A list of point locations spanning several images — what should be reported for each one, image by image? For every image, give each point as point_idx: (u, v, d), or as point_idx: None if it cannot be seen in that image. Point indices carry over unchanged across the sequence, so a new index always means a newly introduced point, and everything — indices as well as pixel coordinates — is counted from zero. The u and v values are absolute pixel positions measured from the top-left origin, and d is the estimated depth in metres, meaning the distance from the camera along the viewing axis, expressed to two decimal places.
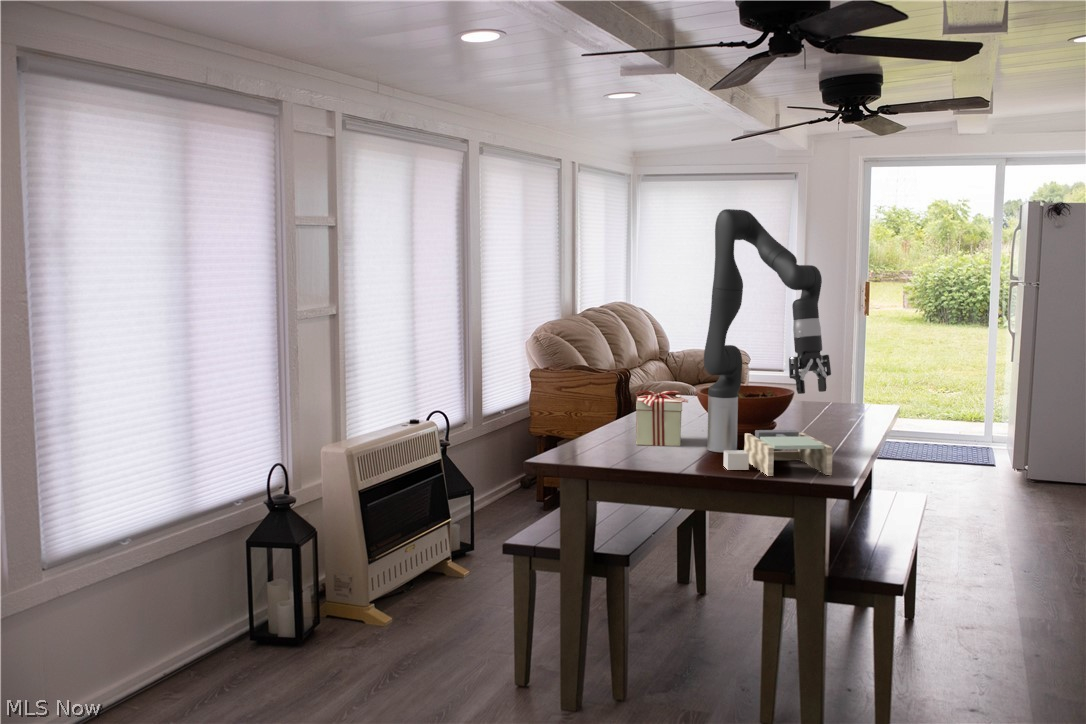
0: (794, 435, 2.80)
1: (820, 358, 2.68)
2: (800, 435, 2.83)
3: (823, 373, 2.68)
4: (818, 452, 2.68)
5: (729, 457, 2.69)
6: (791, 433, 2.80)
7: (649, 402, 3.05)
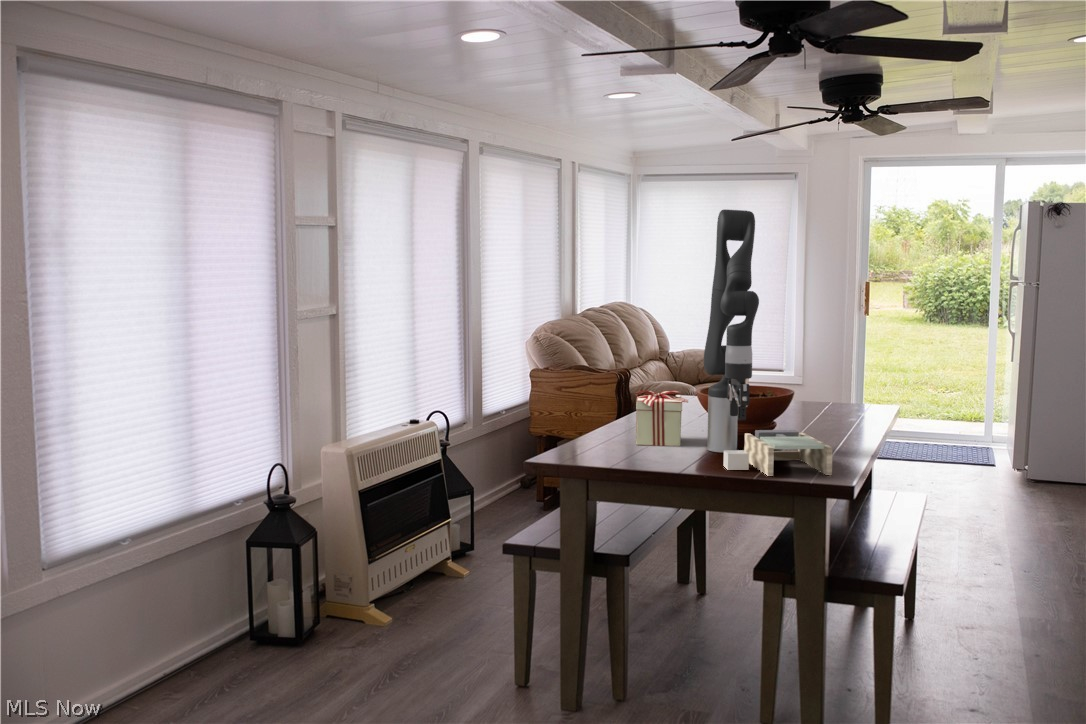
0: (794, 435, 2.80)
1: (737, 386, 2.66)
2: (800, 435, 2.83)
3: (737, 401, 2.66)
4: (818, 452, 2.68)
5: (729, 457, 2.69)
6: (791, 433, 2.80)
7: (649, 402, 3.05)
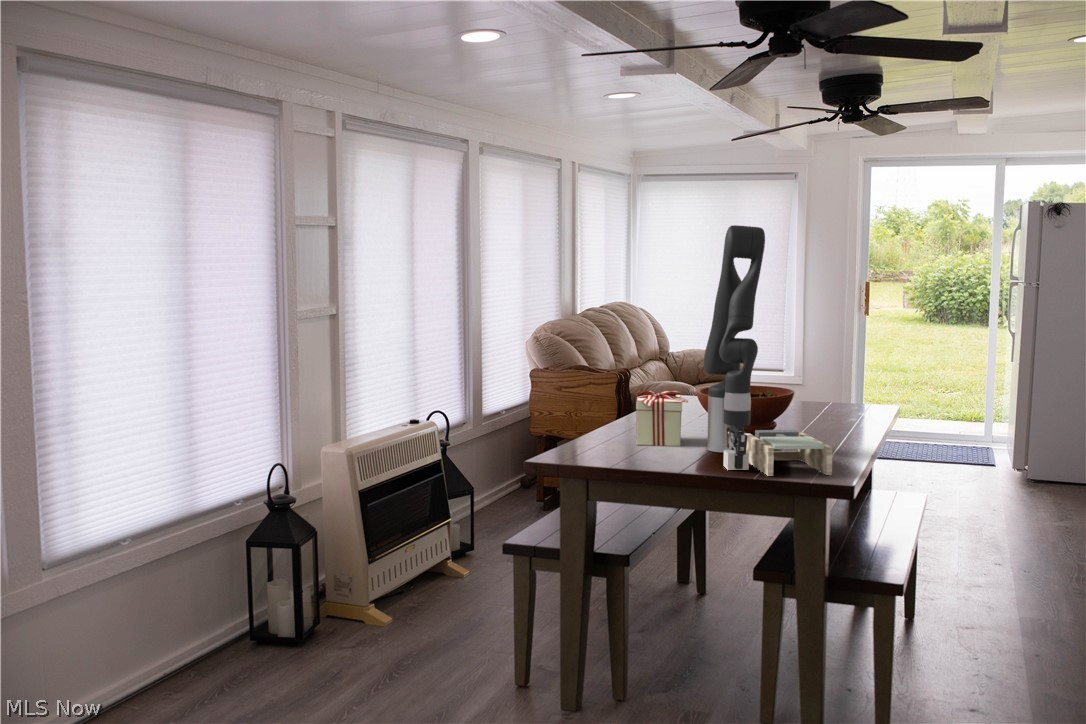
0: (794, 435, 2.80)
1: (736, 433, 2.67)
2: (800, 435, 2.83)
3: (734, 450, 2.68)
4: (818, 452, 2.68)
5: (729, 457, 2.69)
6: (791, 433, 2.80)
7: (649, 402, 3.05)
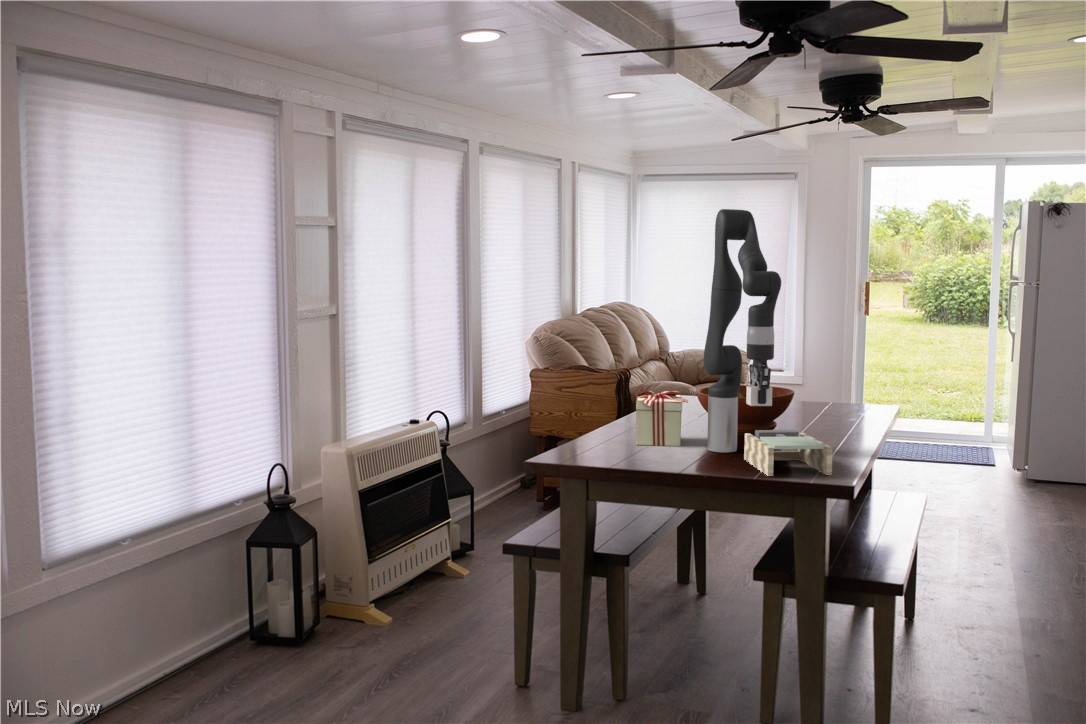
0: (794, 435, 2.80)
1: (759, 367, 2.63)
2: (800, 435, 2.83)
3: (757, 385, 2.64)
4: (818, 452, 2.68)
5: (752, 392, 2.65)
6: (791, 433, 2.80)
7: (649, 402, 3.05)
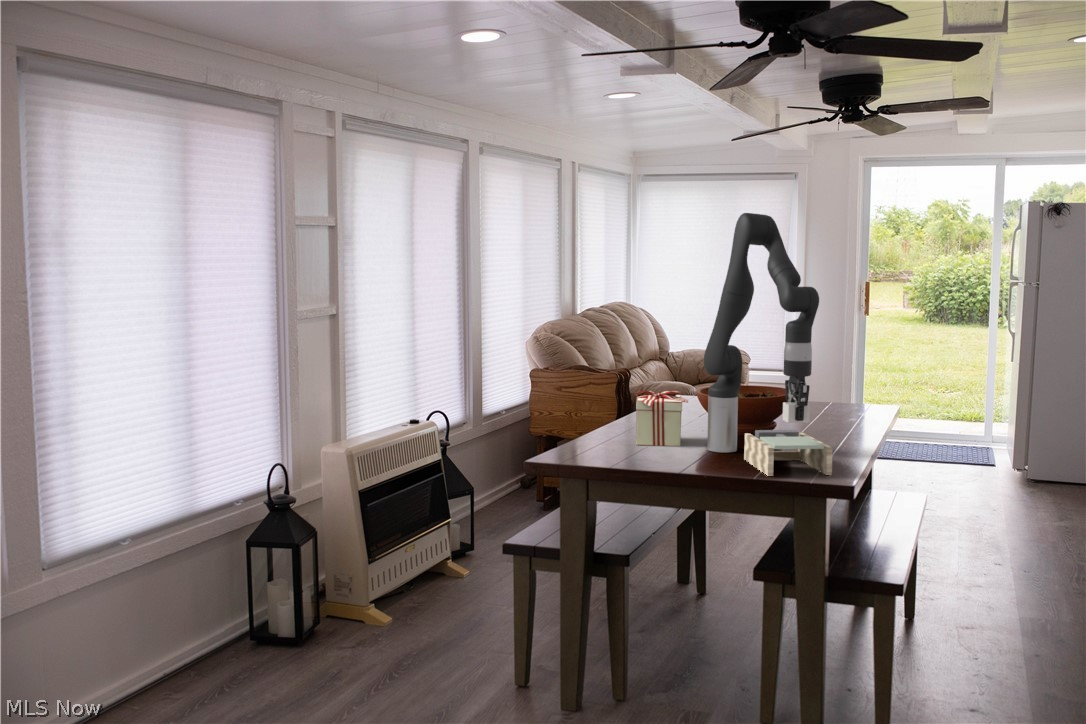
0: (794, 435, 2.80)
1: (797, 384, 2.60)
2: (800, 435, 2.83)
3: (795, 402, 2.62)
4: (818, 452, 2.68)
5: (790, 408, 2.62)
6: (791, 433, 2.80)
7: (649, 402, 3.05)
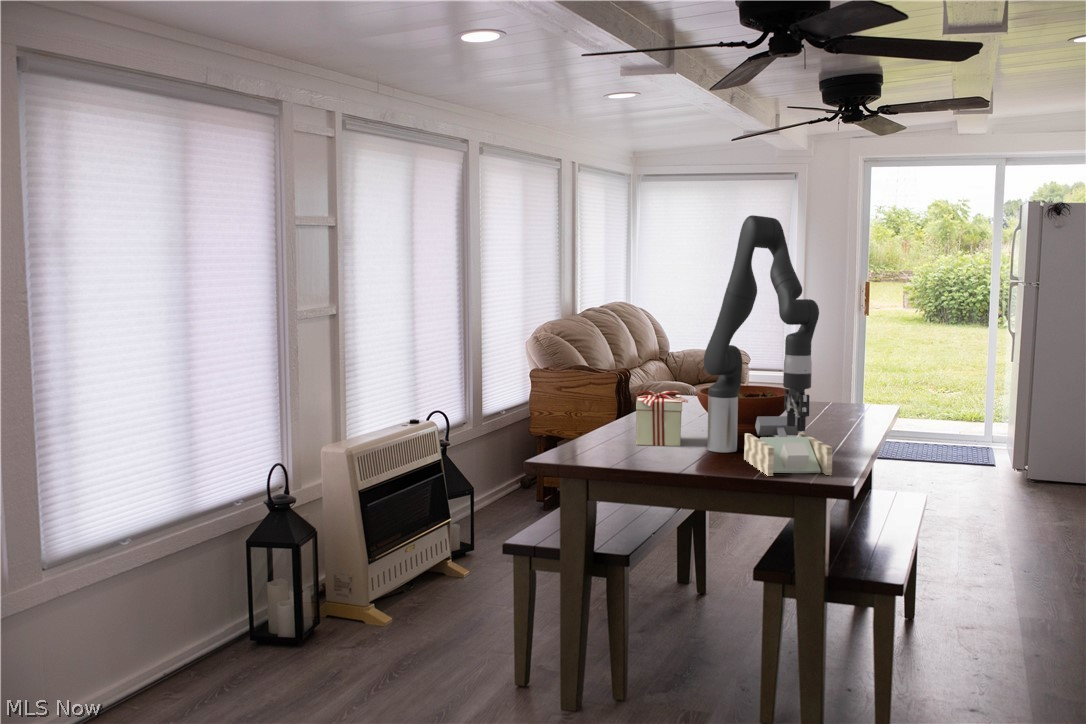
0: (795, 427, 2.80)
1: (796, 396, 2.61)
2: (800, 435, 2.83)
3: (796, 412, 2.60)
4: (818, 452, 2.68)
5: (788, 458, 2.63)
6: (792, 426, 2.79)
7: (649, 402, 3.05)
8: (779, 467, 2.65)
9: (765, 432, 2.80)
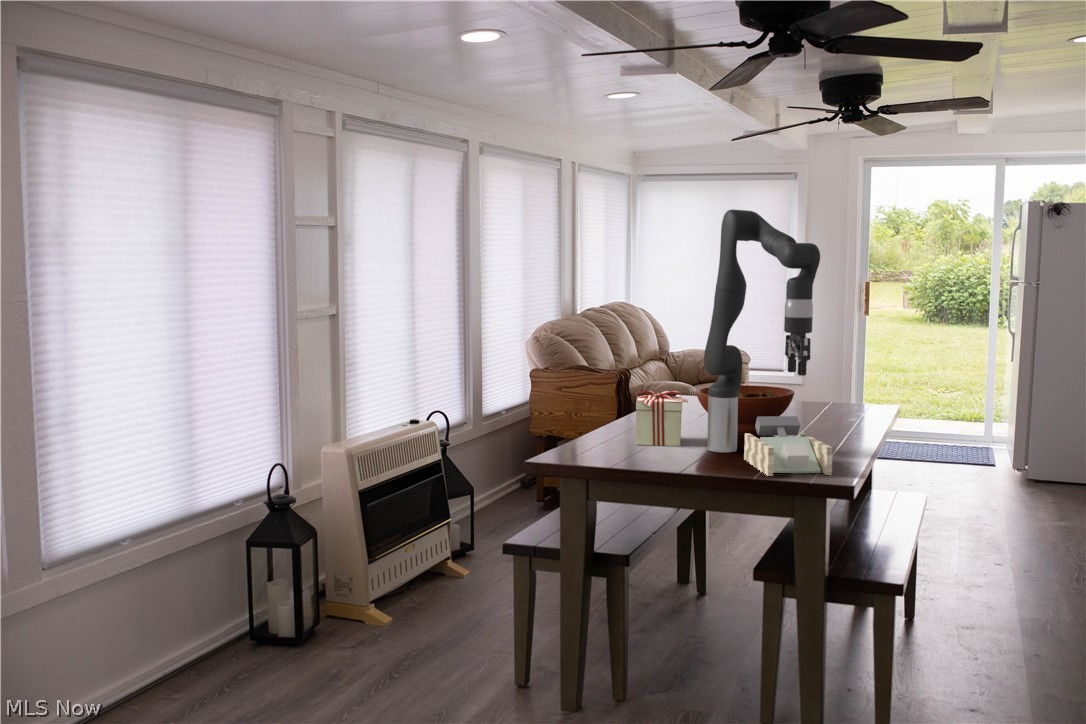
0: (795, 427, 2.80)
1: (797, 340, 2.59)
2: (800, 435, 2.83)
3: (797, 356, 2.59)
4: (818, 452, 2.68)
5: (788, 458, 2.63)
6: (792, 426, 2.79)
7: (649, 402, 3.05)
8: (779, 467, 2.65)
9: (765, 432, 2.80)
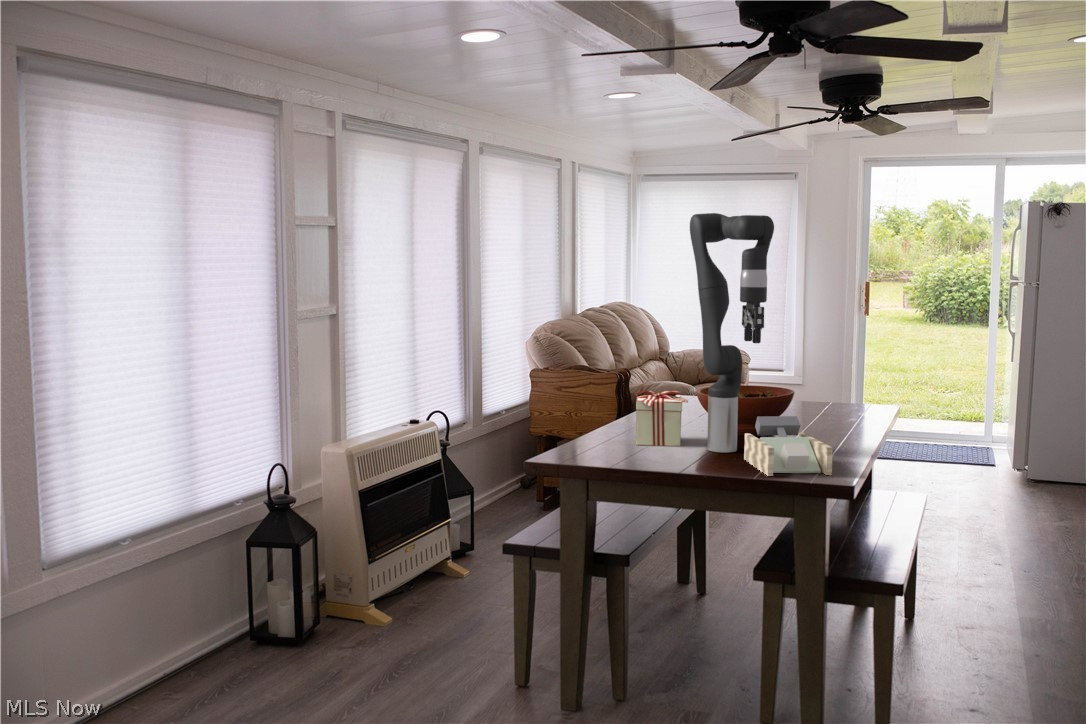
0: (795, 427, 2.80)
1: (752, 309, 2.68)
2: (800, 435, 2.83)
3: (752, 325, 2.68)
4: (818, 452, 2.68)
5: (788, 458, 2.63)
6: (792, 426, 2.79)
7: (649, 402, 3.05)
8: (779, 467, 2.65)
9: (765, 432, 2.80)
